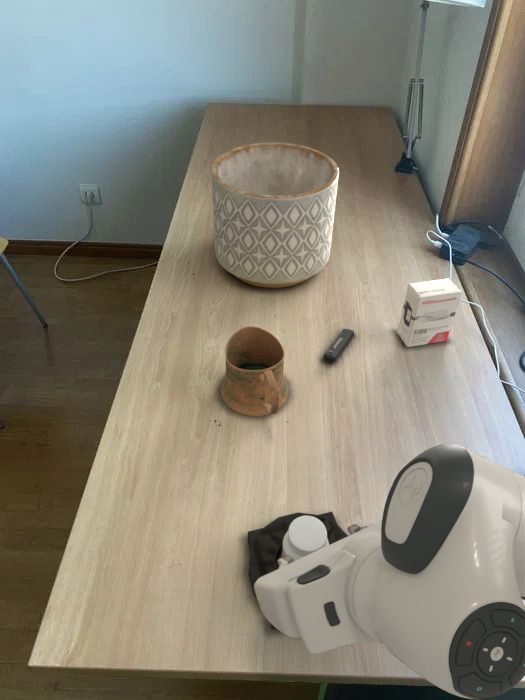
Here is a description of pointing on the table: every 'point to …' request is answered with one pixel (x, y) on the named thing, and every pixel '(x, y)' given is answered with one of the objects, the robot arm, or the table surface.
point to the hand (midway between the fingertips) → (320, 546)
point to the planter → (273, 212)
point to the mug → (254, 373)
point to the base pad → (270, 541)
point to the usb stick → (338, 345)
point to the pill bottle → (304, 537)
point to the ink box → (428, 312)
